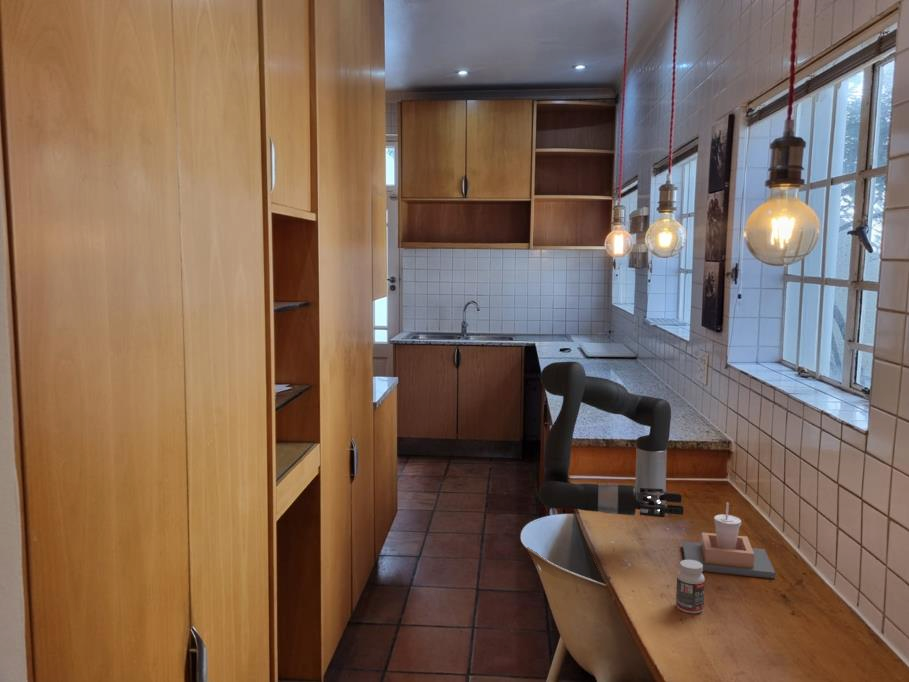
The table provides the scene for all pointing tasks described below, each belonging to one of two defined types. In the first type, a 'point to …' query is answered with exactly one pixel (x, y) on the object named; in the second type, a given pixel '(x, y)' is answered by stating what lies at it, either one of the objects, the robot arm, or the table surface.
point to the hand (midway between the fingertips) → (682, 504)
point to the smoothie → (727, 530)
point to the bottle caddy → (729, 557)
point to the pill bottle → (690, 587)
